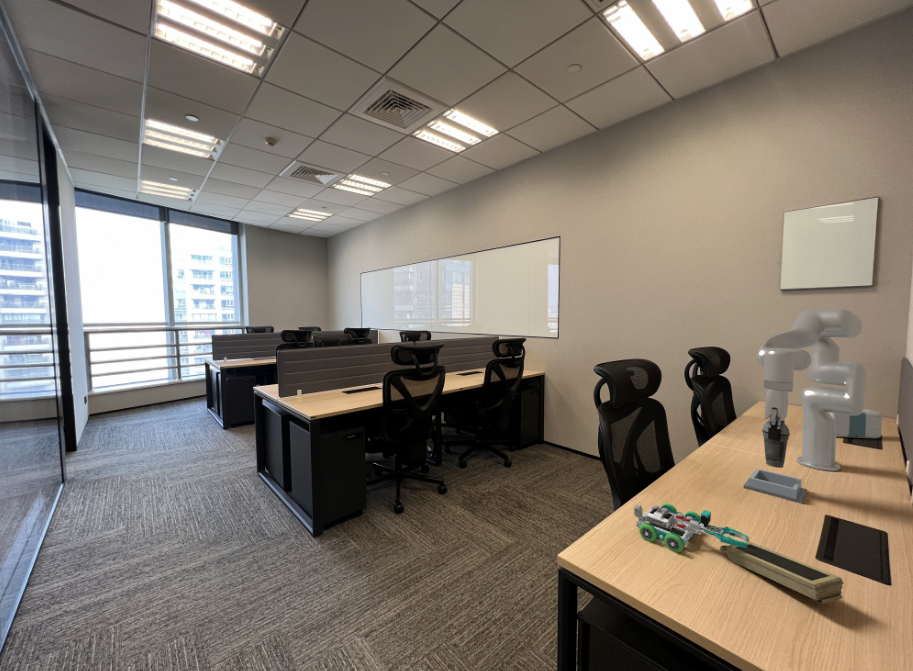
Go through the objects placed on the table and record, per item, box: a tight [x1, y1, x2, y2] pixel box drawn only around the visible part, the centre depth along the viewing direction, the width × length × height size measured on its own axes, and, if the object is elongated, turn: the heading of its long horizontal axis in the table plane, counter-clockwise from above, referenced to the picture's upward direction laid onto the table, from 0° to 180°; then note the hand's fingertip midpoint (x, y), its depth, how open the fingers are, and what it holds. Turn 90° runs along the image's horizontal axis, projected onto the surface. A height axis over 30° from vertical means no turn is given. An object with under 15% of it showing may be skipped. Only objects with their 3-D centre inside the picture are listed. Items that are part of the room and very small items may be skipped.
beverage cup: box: [761, 412, 791, 469], centre depth 126 cm, size 7×7×20 cm
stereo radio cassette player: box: [828, 395, 883, 440], centre depth 183 cm, size 21×8×20 cm, turn 80°
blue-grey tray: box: [743, 468, 808, 505], centre depth 126 cm, size 12×15×4 cm
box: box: [719, 541, 844, 605], centre depth 84 cm, size 8×22×5 cm, turn 16°
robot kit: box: [633, 502, 750, 553], centre depth 98 cm, size 19×25×9 cm
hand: (776, 437), depth 125 cm, fingers closed on beverage cup, 7 cm apart
